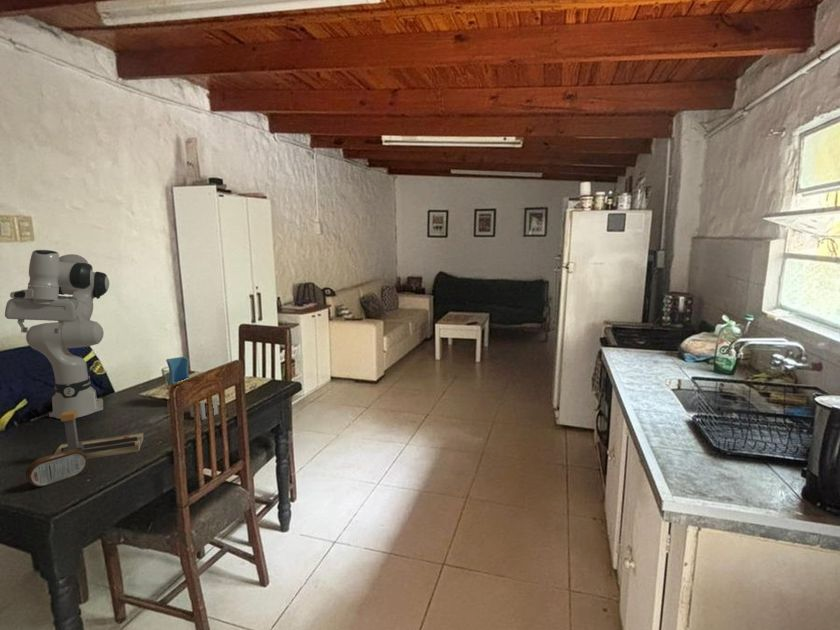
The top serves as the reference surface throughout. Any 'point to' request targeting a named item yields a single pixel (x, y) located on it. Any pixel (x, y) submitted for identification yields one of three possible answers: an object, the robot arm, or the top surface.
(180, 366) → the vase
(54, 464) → the tin
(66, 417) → the fader lever
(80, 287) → the robot arm
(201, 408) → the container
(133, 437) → the fader board
